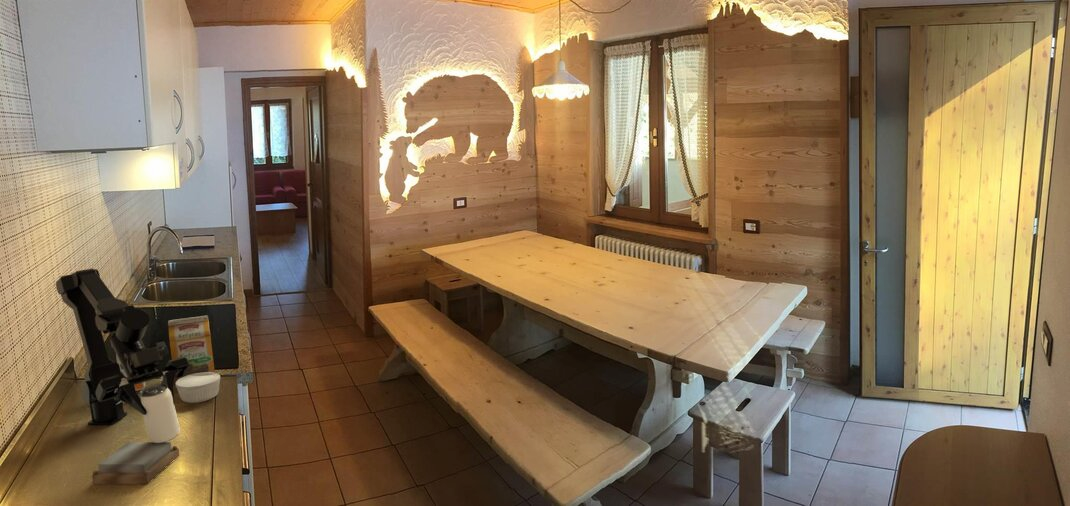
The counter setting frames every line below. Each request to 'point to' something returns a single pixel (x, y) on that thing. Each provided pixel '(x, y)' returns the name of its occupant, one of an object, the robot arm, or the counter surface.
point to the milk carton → (192, 343)
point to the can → (159, 413)
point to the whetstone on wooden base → (135, 463)
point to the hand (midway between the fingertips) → (159, 409)
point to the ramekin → (198, 387)
